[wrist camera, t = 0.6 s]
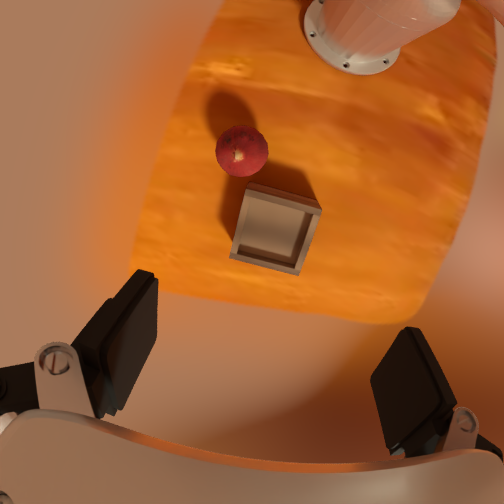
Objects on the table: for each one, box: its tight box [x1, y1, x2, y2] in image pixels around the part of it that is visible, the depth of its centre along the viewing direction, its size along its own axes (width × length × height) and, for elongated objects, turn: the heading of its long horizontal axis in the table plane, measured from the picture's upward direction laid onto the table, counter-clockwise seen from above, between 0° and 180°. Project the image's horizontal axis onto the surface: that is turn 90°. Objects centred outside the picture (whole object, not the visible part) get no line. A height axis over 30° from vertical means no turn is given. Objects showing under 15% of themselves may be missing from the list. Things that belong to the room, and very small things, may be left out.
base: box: [229, 182, 322, 276], centre depth 35 cm, size 9×9×4 cm
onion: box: [215, 126, 269, 177], centre depth 30 cm, size 6×6×8 cm
